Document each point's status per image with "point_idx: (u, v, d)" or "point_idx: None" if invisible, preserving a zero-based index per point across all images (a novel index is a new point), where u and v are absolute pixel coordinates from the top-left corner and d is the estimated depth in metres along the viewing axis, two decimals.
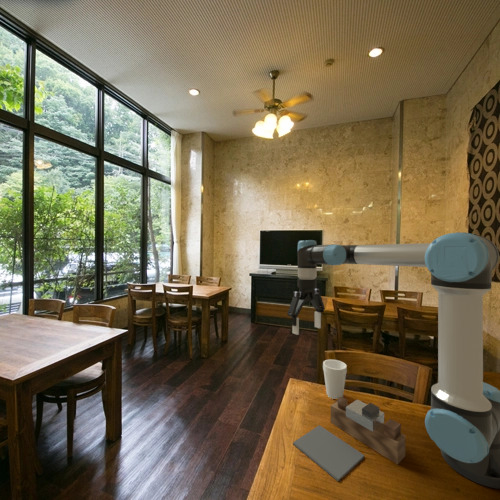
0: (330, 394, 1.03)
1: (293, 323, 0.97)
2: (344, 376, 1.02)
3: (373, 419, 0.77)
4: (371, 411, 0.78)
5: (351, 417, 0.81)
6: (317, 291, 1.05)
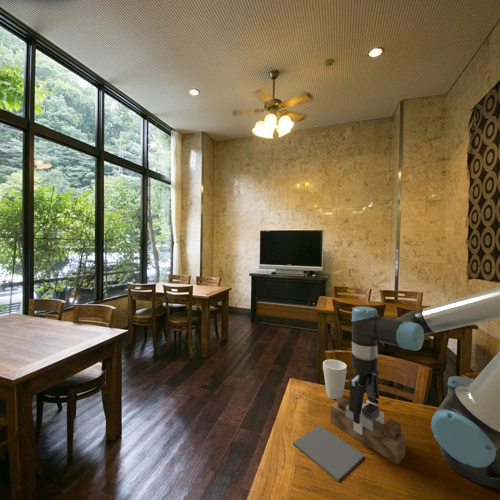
0: (330, 394, 1.03)
1: (356, 420, 0.78)
2: (344, 376, 1.02)
3: (373, 419, 0.77)
4: (371, 411, 0.78)
5: (351, 417, 0.81)
6: (375, 372, 0.84)
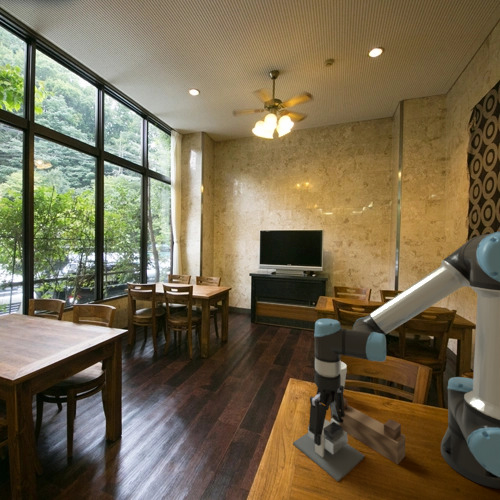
0: None
1: (317, 441, 0.73)
2: (344, 376, 1.02)
3: (334, 441, 0.72)
4: (332, 432, 0.73)
5: (313, 437, 0.76)
6: (340, 388, 0.79)
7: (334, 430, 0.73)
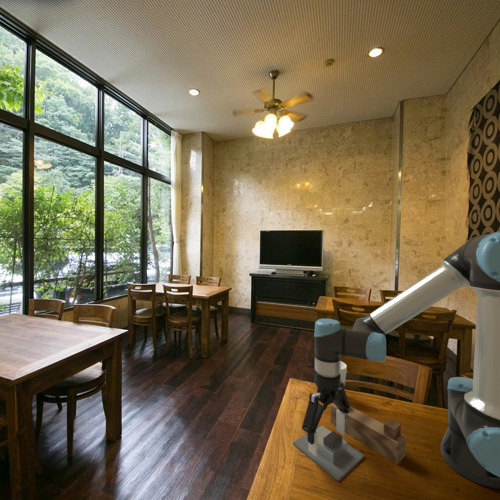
0: None
1: (310, 440, 0.71)
2: (344, 376, 1.02)
3: (334, 450, 0.71)
4: (332, 442, 0.73)
5: None
6: (340, 386, 0.79)
7: (334, 440, 0.73)
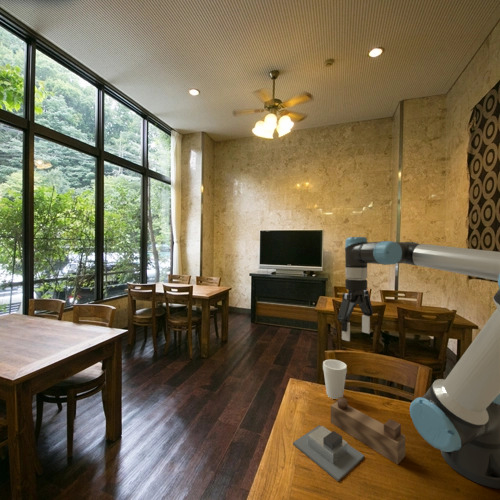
0: (330, 394, 1.03)
1: (344, 328, 0.88)
2: (344, 376, 1.02)
3: (334, 450, 0.71)
4: (332, 442, 0.73)
5: (313, 446, 0.76)
6: (366, 293, 0.96)
7: (334, 440, 0.73)
